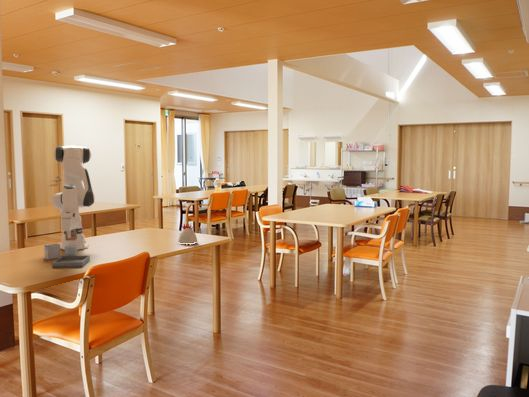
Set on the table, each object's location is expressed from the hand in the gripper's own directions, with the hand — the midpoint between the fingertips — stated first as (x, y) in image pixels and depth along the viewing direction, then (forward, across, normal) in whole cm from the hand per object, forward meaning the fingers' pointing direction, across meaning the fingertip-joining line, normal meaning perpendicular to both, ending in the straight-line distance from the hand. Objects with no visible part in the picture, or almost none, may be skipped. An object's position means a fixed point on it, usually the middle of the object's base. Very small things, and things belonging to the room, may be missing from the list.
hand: (71, 236), depth 267 cm
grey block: (+16, -13, -4) cm, 21 cm away
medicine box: (+16, -17, -16) cm, 29 cm away
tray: (+16, 0, 0) cm, 16 cm away
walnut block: (+2, 0, 0) cm, 2 cm away
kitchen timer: (+16, -62, +65) cm, 91 cm away
